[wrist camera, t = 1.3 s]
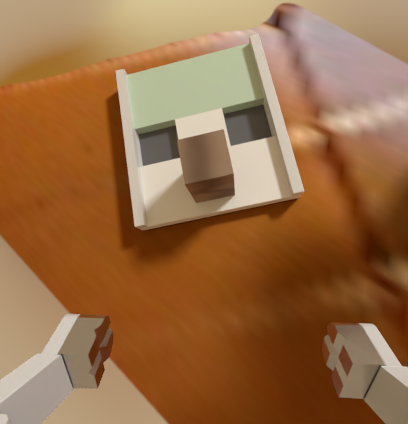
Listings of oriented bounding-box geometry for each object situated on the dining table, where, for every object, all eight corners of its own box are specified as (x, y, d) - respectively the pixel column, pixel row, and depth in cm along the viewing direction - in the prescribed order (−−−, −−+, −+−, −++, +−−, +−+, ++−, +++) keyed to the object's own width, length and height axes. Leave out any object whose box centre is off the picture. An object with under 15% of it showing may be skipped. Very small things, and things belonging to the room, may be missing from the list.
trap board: (257, 50, 48) (258, 33, 45) (298, 197, 41) (304, 191, 38) (123, 84, 50) (115, 70, 47) (142, 230, 43) (134, 226, 40)
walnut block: (226, 158, 42) (223, 129, 34) (235, 195, 41) (233, 173, 32) (189, 167, 43) (176, 140, 34) (196, 203, 41) (184, 184, 33)
